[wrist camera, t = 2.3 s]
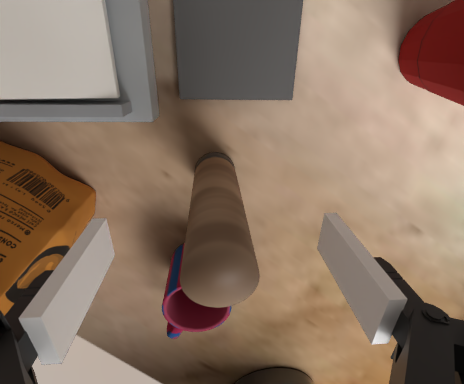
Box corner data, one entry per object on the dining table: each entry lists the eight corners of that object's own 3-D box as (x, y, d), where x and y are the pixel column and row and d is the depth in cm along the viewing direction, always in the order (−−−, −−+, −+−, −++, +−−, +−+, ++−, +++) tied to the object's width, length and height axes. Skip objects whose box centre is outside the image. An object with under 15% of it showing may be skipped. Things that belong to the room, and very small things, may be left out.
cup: (238, 256, 32) (245, 301, 26) (191, 305, 35) (187, 357, 29) (192, 229, 30) (187, 272, 23) (146, 284, 33) (131, 335, 26)
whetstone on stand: (159, 115, 24) (146, 128, 19) (-79, 114, 22) (-161, 128, 17) (145, -23, 20) (123, -52, 15) (-151, -35, 18) (-287, -72, 13)
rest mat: (290, 99, 24) (292, 100, 24) (180, 98, 23) (179, 99, 23) (305, -41, 20) (307, -44, 19) (170, -47, 19) (169, -51, 19)
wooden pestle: (234, 188, 28) (257, 305, 14) (196, 189, 27) (182, 309, 14) (235, 152, 26) (262, 245, 12) (194, 152, 26) (176, 248, 12)
